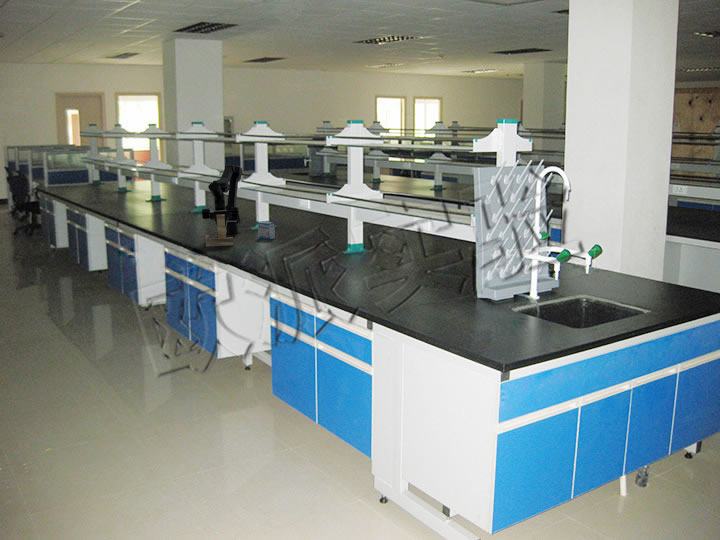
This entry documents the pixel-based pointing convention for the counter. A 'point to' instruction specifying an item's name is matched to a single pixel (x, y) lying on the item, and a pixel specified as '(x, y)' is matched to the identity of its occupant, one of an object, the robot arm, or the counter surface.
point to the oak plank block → (221, 226)
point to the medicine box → (266, 230)
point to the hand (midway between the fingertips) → (221, 226)
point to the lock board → (218, 241)
